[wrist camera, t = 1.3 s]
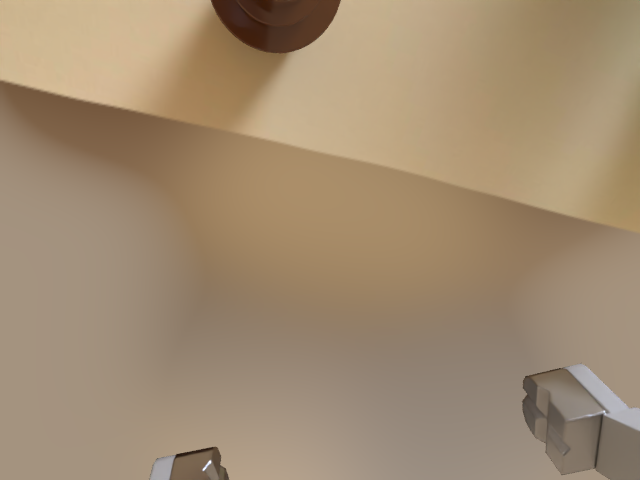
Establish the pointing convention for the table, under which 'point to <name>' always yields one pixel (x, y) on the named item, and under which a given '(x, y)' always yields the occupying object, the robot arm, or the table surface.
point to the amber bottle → (276, 21)
